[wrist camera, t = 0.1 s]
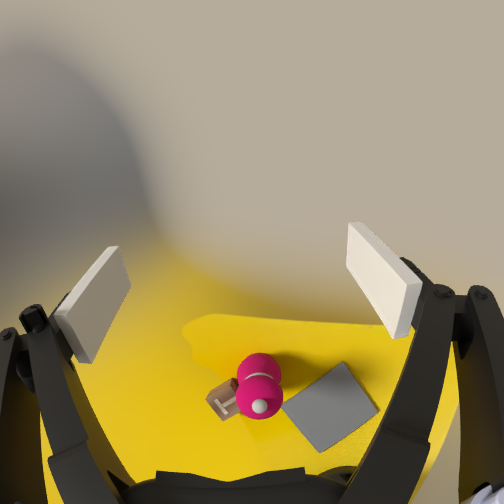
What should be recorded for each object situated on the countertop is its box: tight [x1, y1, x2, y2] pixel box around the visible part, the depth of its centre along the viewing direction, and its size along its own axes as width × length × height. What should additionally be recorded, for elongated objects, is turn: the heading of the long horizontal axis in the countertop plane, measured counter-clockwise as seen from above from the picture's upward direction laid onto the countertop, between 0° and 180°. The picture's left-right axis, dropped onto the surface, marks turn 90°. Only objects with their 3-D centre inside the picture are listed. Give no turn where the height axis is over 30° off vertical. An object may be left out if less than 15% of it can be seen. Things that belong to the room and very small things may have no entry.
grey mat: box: [281, 361, 378, 453], centre depth 46 cm, size 14×14×1 cm
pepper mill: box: [236, 353, 283, 420], centre depth 39 cm, size 7×7×20 cm
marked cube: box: [206, 378, 241, 421], centre depth 45 cm, size 5×5×5 cm
